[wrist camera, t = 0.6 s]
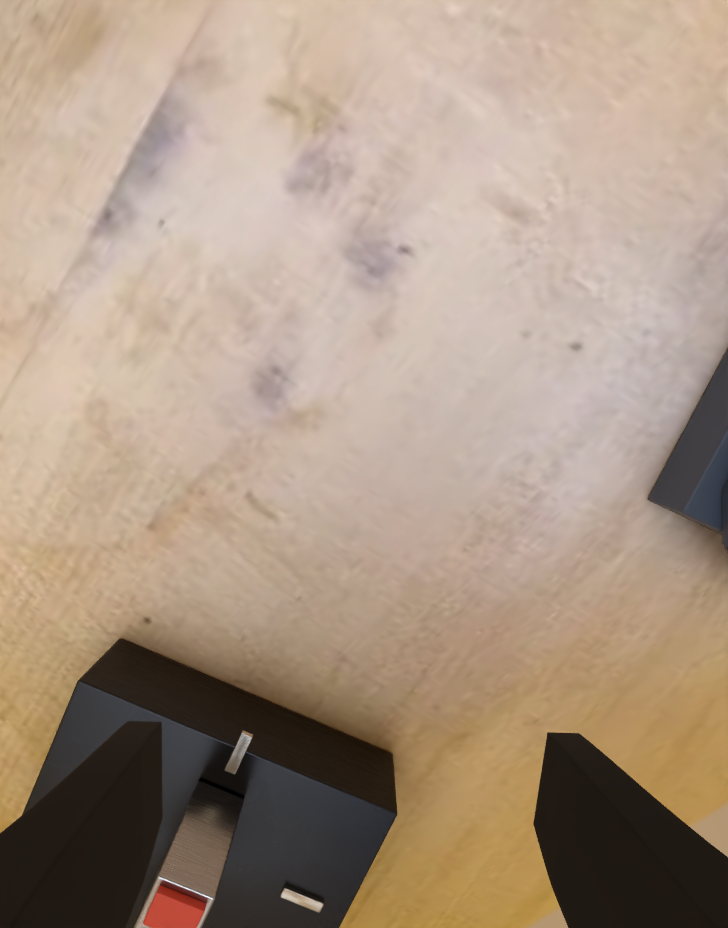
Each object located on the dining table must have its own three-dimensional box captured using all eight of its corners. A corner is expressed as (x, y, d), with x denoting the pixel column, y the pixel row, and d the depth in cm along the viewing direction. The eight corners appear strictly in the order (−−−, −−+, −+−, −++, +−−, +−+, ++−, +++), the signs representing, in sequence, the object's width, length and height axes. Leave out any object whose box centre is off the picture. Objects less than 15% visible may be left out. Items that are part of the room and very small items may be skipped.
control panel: (301, 936, 22) (290, 1028, 18) (38, 830, 21) (-19, 908, 18) (400, 739, 21) (406, 802, 17) (126, 622, 20) (82, 665, 17)
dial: (185, 923, 18) (139, 1060, 14) (140, 905, 18) (82, 1039, 14) (245, 798, 18) (213, 907, 14) (198, 779, 17) (153, 883, 14)
